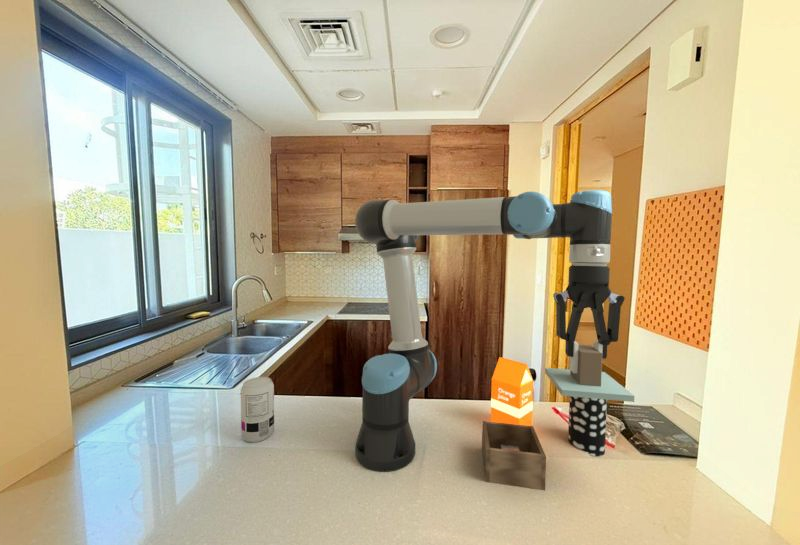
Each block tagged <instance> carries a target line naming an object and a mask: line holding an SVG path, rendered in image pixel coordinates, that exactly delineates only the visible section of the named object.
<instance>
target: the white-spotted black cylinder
mask: <svg viewBox="0 0 800 545" xmlns="http://www.w3.org/2000/svg"><path fill="white" fill-rule="evenodd" d="M602 372H605V373H606V374H608V372H606V371H604V370H603V369H602ZM568 401H569V404H568V405H569V407H568V431H567V434H568V435H567V440H568V442H569V444H570V445H571V446H573V447H574V448H576V449H578V450H580V451H583V452H584V453H585V452H586V453H588V455H589V456H591V457H601V456H603V455H604V454H605V452H606V438H607V436H606V435H607V434H606V433H607V431H606V430H607V412H608V411H607V409H608V408H607V407H608V403H607V402H608V400H606V399H594V398H583V397H571V396H569V400H568Z"/></svg>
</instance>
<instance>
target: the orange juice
mask: <svg viewBox="0 0 800 545" xmlns="http://www.w3.org/2000/svg"><path fill="white" fill-rule="evenodd" d="M490 391H491V394H490V395H491V396H490V397H491V398H490V422H497V423H507V424H516V425H526V426H533V406H534V405H533V404H534V402H533V401H534V379H533V376H532V374H531V371H530V369H529V366H528V364H527V363H524V362H519V361H516V360H513V359H509V358H505V357H501V356H499V358H498V360H497V363H496V366H495V369H494V371H493V375H492V377H491V390H490Z"/></svg>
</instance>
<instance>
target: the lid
mask: <svg viewBox="0 0 800 545" xmlns="http://www.w3.org/2000/svg"><path fill="white" fill-rule="evenodd" d="M544 369H545V370H544V373H545V375H546V376H547V377H548V379H549V380H550V382H551V384H553V386H554V387H555V389H556V390H557V391H558V393H559V394H560V395H561V397H563V396H564V397H570V396H571V397H583V398H594V399H606V400H607V401H608V400H609V401H619V402H631V403H632V402H633V403H634V402H635V395H634V394H633V393H631V392H630V391H629V390H628V389H627V388H625V386H623V385H622V384H620V383H619V382H618V381H616V379H614V378H613V377H611V375H610V374H608V373H607V372H606V371H605V372H606V373H607V374H606V373H605V372H602V370H603V359H602V353H601V352H599V351H598V350H596V349H595V348H593V346H592V345H585V344H578V369H577V373H573V372H572V371H571V370H570V369H567V368H554V367H552V368H551V367H545V368H544ZM601 372H602V375H601Z"/></svg>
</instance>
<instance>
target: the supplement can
mask: <svg viewBox="0 0 800 545" xmlns="http://www.w3.org/2000/svg"><path fill="white" fill-rule="evenodd" d="M240 423H241V426H240V428H241V430H240V434H241V439H242V440H243V441H245V442H247V443H259V442H262V441H265V440H267V439H268V438H270V437H271V435H273V434H274V432H275V384H274V382H273V380H272V378H271V377H268V376H257V377H252V378H249V379H247V380H246V379H245V381H243V384H242V386H241V389H240Z"/></svg>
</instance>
